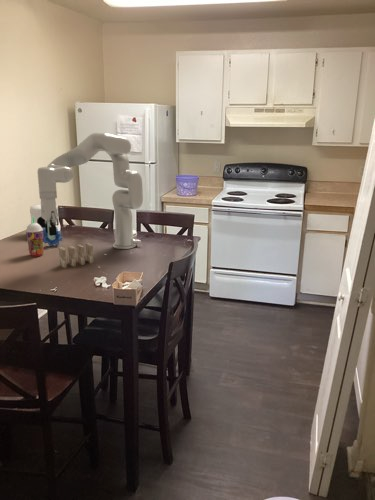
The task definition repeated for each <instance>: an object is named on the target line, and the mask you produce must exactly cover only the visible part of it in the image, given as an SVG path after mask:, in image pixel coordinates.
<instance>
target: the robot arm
mask: <svg viewBox="0 0 375 500" xmlns="http://www.w3.org/2000/svg"><path fill="white" fill-rule="evenodd" d="M131 149H132V144H131V141H130V140H129V139H128V138H127V137H123V136H119V135H115V134H111V133H105V132H103V133H102V132H93V133H91V134H89V135H88V136H87V137H86V138H85V139H84V140H82V142H80V143H79V144H78V145H77V146H75V147H74V148H73V149H71V150H69V151H67V152H64V153H63V154H61V155H58V156H57V157H56V158H55V159H52V161H51V162H50V163H49V164H48V165H47V166H43V167H39V168H38V169H37V181H38V182H37V183H38V193H39V200H40V204H41V217H42V218H43V219H44V220H45V229H46V233H48V228H47V221H48V220H49V226H50V227H49V235H50V236H52V235H57V232H56V220H57V209H58V207H57V208H56V205H57V201H56V199H58V192H57V183H61V184H62V183H63V184H64V183H65V184H66V183H69V182H71V181H72V180H73V177H74V172H73V170H72V169H71V168H72V167H77V166H81V165H85V164H87V163H88V162H89V161H90V160H91V159H93V157H95V155H97V154H98V152H105V153H106V154H107V155H108V156H109V157H110V159H111V162H112V170H113V173H112V174H113V181H114V185H115V186H116V187H119V188H122V189H116V190H115V191H114V192H113V194H112V196H111V197H112V198H111V200H112V204H113V210H114V228H115V229H114V230H115V231H114V232H115V234H114V235H115V242H114V243H113V244H112V247H113V248H114V249H119V250H128V249H129V250H130V249H133V248H136V246H137V244H142V241H141V239H135V238H134V236H133V235H134V232H133V213H132V210H139V209H140V208H141V207H142V205H143V200H144V194H143V193H144V191H143V189H144V188H143V179H142V176H141V174H140V172H138V171H136V170H131V168H130V162H129V161H130V160H129V157H128V154H129V153H130V151H131ZM123 188H124V189H123ZM50 219H52V220H50Z"/></svg>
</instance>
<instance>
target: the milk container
mask: <svg viewBox="0 0 375 500" xmlns="http://www.w3.org/2000/svg"><path fill="white" fill-rule="evenodd" d="M29 207H30V209H29V211H30V224H31V223H33V217H34V223H38V224H39V225H40V226H41V227H42V228H45V220H44V219H43V218H42V217H41V203H39V204H32V205H30V206H29ZM56 208H57V220H56V228H57V231H60V232H61V224H60V220H59V212H58V205H57V204H56Z"/></svg>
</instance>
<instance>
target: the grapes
mask: <svg viewBox="0 0 375 500" xmlns="http://www.w3.org/2000/svg"><path fill="white" fill-rule="evenodd" d="M42 229H43V244H47V245H49V246H50V247H54V246H59V245H60V242H62V241H63V237H62V232H61V230H60V231H57V228H56V232H57V235H55V240H51V239H49V238H48V233H46V229H45V228H42Z"/></svg>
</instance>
